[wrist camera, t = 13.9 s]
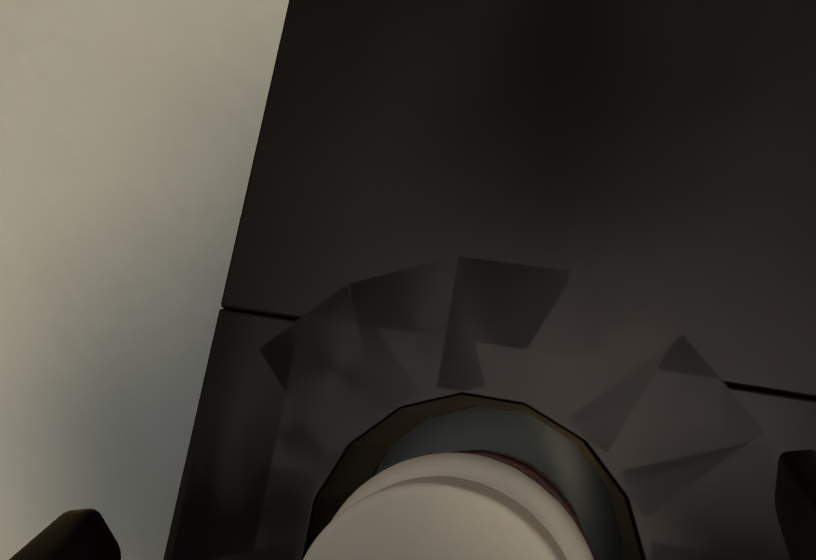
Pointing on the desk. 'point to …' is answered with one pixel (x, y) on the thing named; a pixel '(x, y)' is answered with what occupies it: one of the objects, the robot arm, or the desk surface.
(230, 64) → the desk surface
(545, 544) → the pill bottle
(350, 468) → the base
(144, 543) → the desk surface
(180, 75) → the desk surface
